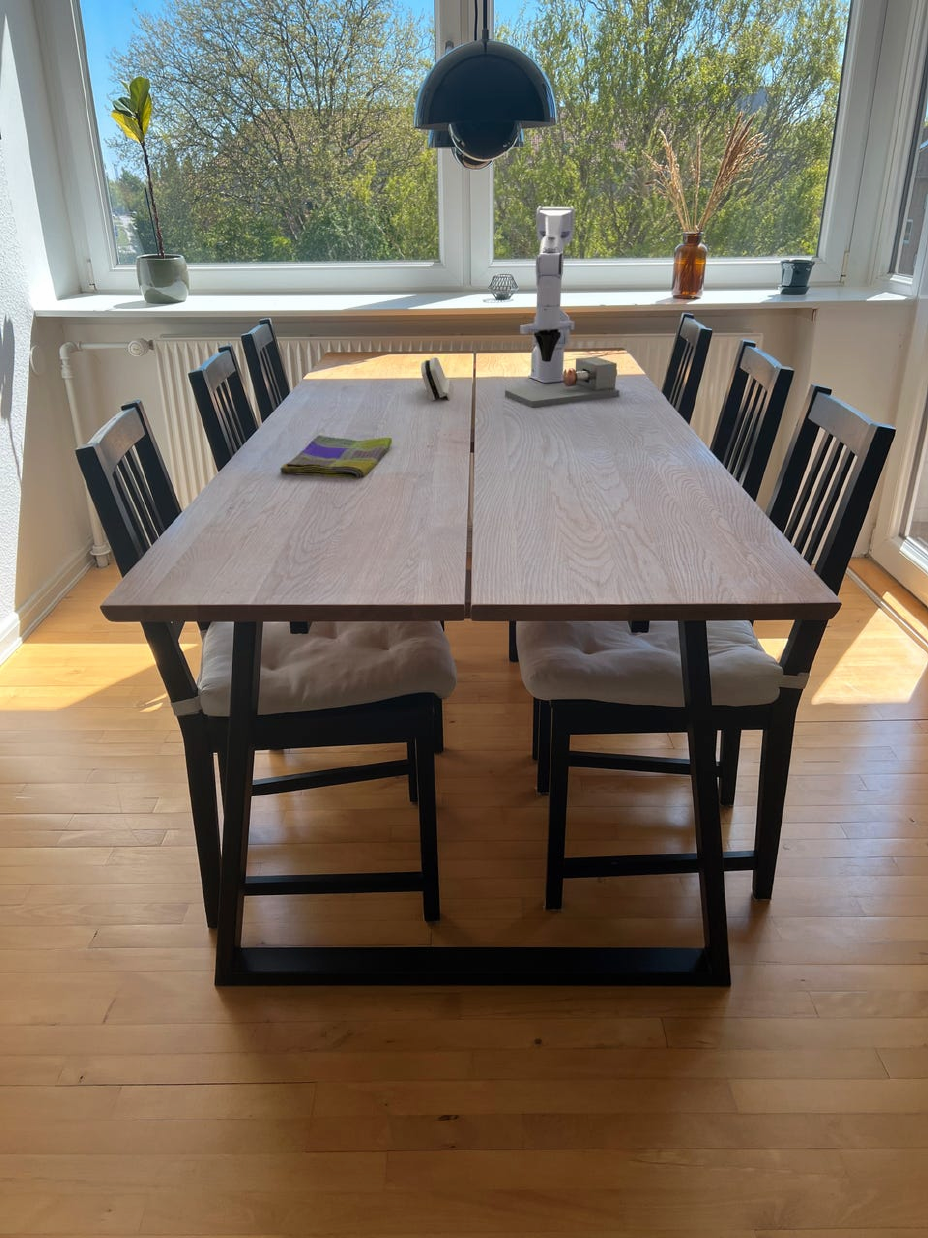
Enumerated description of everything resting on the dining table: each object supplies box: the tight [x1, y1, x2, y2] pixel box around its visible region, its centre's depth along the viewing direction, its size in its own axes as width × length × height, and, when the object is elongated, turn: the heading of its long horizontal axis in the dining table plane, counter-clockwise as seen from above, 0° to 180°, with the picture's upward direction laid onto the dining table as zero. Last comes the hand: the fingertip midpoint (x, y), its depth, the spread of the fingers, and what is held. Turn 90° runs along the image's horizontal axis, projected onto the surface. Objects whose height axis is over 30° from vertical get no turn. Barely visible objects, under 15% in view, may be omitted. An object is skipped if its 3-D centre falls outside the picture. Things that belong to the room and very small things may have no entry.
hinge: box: [420, 357, 454, 401], centre depth 244 cm, size 17×5×10 cm, turn 178°
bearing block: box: [575, 356, 618, 391], centre depth 243 cm, size 10×6×6 cm, turn 26°
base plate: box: [504, 382, 620, 408], centre depth 241 cm, size 14×26×2 cm, turn 116°
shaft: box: [562, 368, 618, 387], centre depth 243 cm, size 4×15×4 cm, turn 116°
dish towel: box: [279, 434, 393, 479], centre depth 192 cm, size 18×24×3 cm
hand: (546, 360), depth 235 cm, fingers closed
